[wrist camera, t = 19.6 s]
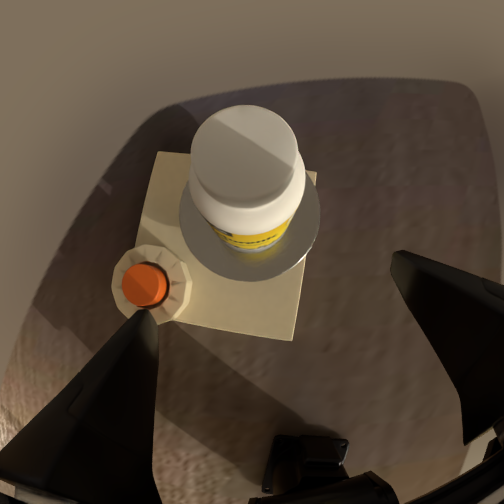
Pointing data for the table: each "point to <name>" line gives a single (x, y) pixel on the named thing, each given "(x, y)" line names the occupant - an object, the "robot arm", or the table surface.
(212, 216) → the supplement bottle
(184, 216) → the scale pan
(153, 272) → the tare button
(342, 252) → the table surface
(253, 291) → the scale
